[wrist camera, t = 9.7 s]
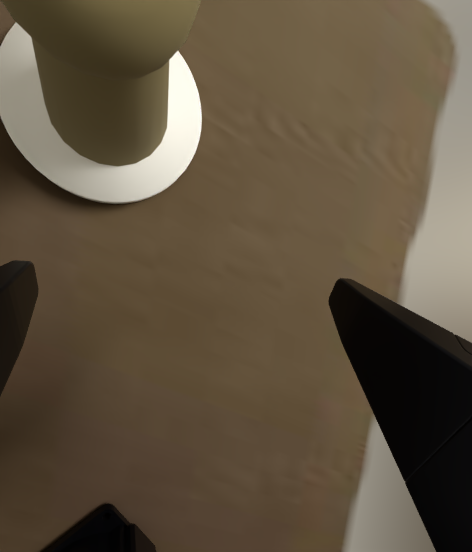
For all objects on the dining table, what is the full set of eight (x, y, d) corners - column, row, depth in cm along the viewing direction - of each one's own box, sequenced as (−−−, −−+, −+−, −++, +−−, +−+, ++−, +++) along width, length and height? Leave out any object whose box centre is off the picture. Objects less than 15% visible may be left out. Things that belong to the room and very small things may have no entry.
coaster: (81, 235, 18) (78, 235, 16) (-46, 53, 15) (-60, 38, 14) (225, 157, 20) (231, 152, 19) (138, -12, 17) (139, -30, 16)
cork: (54, 166, 16) (-70, 27, 5) (33, 36, 15) (-159, -418, 5) (173, 166, 18) (246, 63, 7) (161, 51, 17) (224, -242, 7)
